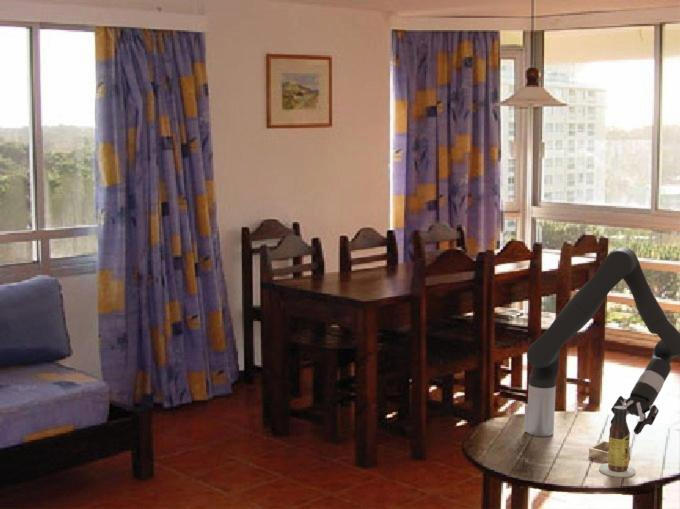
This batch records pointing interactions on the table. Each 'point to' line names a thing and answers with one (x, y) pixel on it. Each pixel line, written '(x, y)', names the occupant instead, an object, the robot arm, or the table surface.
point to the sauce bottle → (619, 441)
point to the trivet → (607, 471)
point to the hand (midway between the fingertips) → (624, 429)
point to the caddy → (600, 451)
